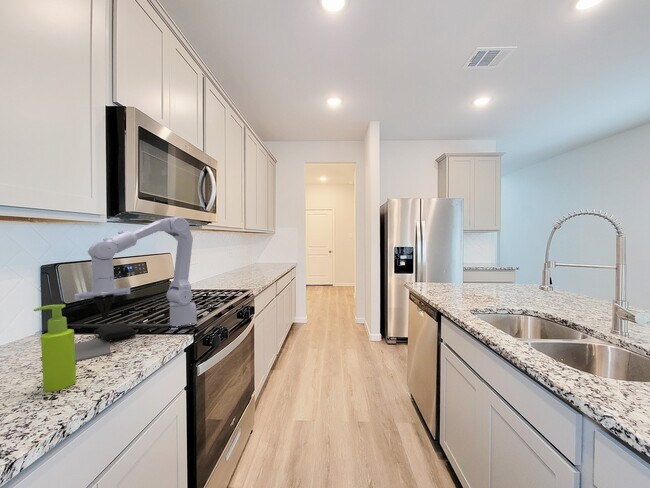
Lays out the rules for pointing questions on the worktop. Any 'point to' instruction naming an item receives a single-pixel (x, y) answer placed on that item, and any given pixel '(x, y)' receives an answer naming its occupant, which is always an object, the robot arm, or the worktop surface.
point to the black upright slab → (115, 332)
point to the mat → (91, 349)
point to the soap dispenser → (57, 352)
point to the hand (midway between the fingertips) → (104, 318)
